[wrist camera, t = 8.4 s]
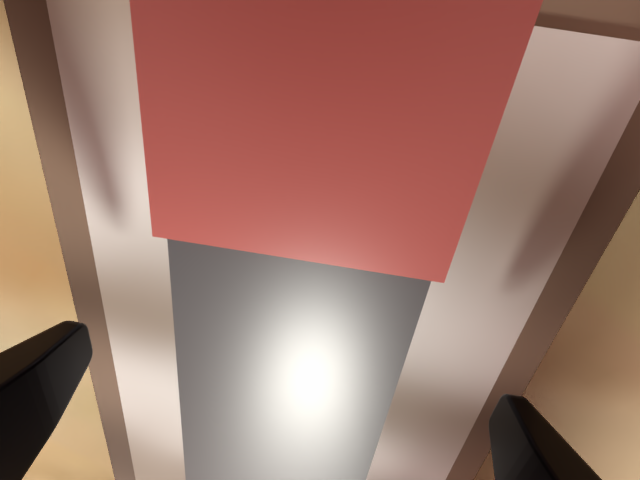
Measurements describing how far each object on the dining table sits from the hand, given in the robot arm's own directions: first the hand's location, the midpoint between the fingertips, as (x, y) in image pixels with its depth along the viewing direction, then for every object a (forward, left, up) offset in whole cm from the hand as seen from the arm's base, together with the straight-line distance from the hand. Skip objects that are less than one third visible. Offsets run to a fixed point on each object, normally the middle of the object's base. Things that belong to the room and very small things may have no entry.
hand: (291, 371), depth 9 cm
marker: (0, 0, -2) cm, 2 cm away
